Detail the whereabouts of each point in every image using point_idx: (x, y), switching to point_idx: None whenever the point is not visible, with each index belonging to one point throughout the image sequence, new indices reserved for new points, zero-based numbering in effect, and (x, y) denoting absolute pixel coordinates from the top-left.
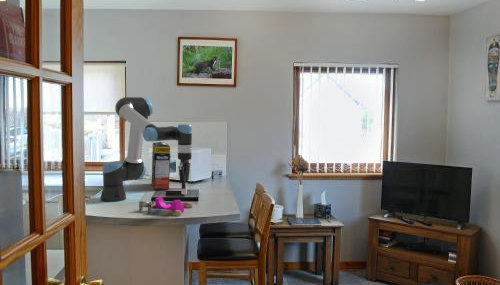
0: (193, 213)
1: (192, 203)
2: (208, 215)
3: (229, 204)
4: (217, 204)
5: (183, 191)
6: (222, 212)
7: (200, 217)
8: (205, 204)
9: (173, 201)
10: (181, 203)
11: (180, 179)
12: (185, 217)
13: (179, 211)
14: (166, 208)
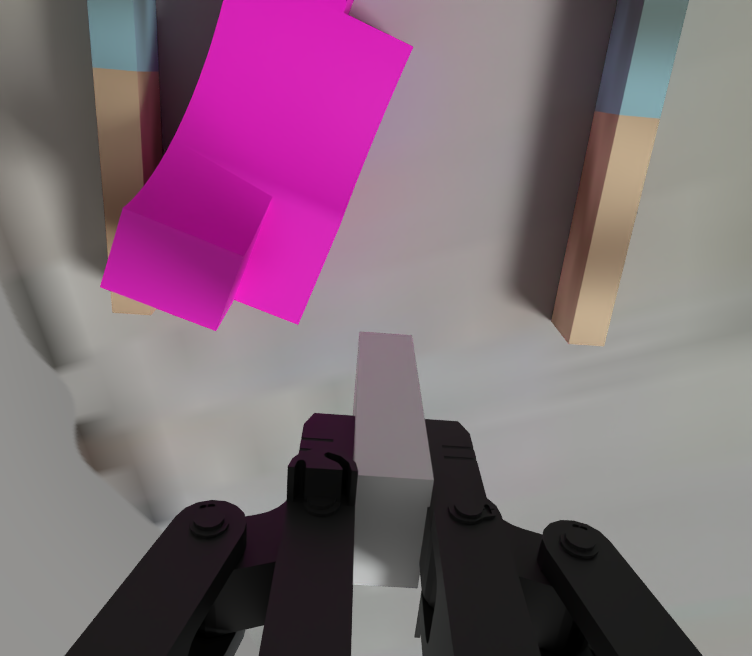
0: (280, 405)
1: (595, 342)
2: None
3: (703, 643)
4: (710, 546)
5: (355, 397)
6: (374, 641)
7: (138, 506)
8: (718, 433)
9: (118, 229)
10: (598, 189)
11: (134, 594)
12: (88, 367)
13: (114, 302)
14: (206, 65)
